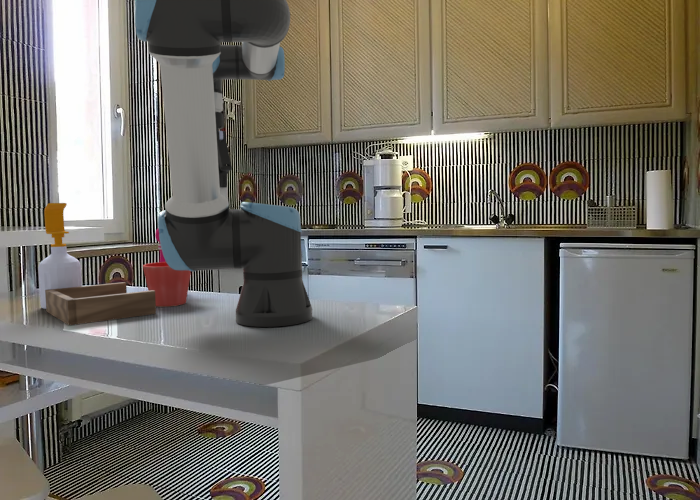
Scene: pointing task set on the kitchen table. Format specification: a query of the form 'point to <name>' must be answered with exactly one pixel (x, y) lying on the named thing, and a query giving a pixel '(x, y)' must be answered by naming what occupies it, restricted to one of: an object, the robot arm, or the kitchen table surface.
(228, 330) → the kitchen table surface
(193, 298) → the kitchen table surface
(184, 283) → the flower pot
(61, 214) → the soap bottle
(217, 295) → the kitchen table surface
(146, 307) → the tray
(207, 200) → the robot arm
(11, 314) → the kitchen table surface
